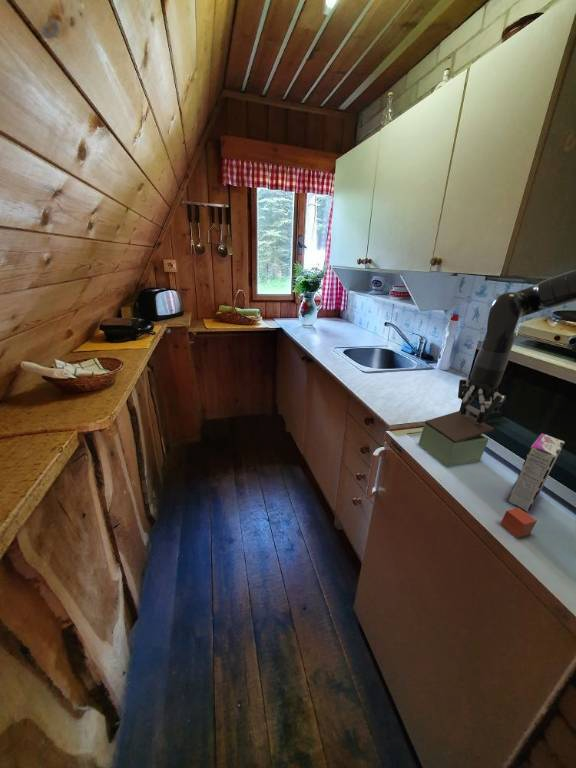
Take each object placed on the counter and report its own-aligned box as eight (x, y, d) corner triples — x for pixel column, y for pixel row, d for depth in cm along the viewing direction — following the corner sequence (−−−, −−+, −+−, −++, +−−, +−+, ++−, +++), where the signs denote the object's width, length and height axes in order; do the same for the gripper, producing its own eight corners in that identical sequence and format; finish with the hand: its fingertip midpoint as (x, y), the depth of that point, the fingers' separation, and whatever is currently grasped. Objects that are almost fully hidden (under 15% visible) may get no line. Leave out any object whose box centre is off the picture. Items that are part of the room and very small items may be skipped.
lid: (461, 412, 99) (463, 398, 97) (493, 430, 89) (497, 415, 87) (424, 422, 95) (426, 409, 93) (454, 443, 85) (457, 428, 83)
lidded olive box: (449, 440, 103) (457, 419, 100) (480, 460, 93) (488, 438, 90) (418, 444, 98) (424, 423, 95) (446, 466, 88) (454, 443, 85)
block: (512, 520, 70) (518, 507, 69) (529, 534, 67) (537, 520, 66) (500, 523, 69) (506, 510, 68) (517, 538, 66) (524, 524, 64)
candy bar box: (517, 484, 84) (541, 432, 78) (539, 494, 80) (566, 441, 74) (505, 500, 77) (530, 445, 71) (528, 513, 73) (557, 456, 67)
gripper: (524, 373, 82) (502, 429, 88) (477, 357, 94) (461, 407, 100) (504, 374, 79) (483, 431, 85) (459, 357, 92) (443, 408, 98)
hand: (471, 418), depth 93 cm, fingers closed on lid, 5 cm apart
